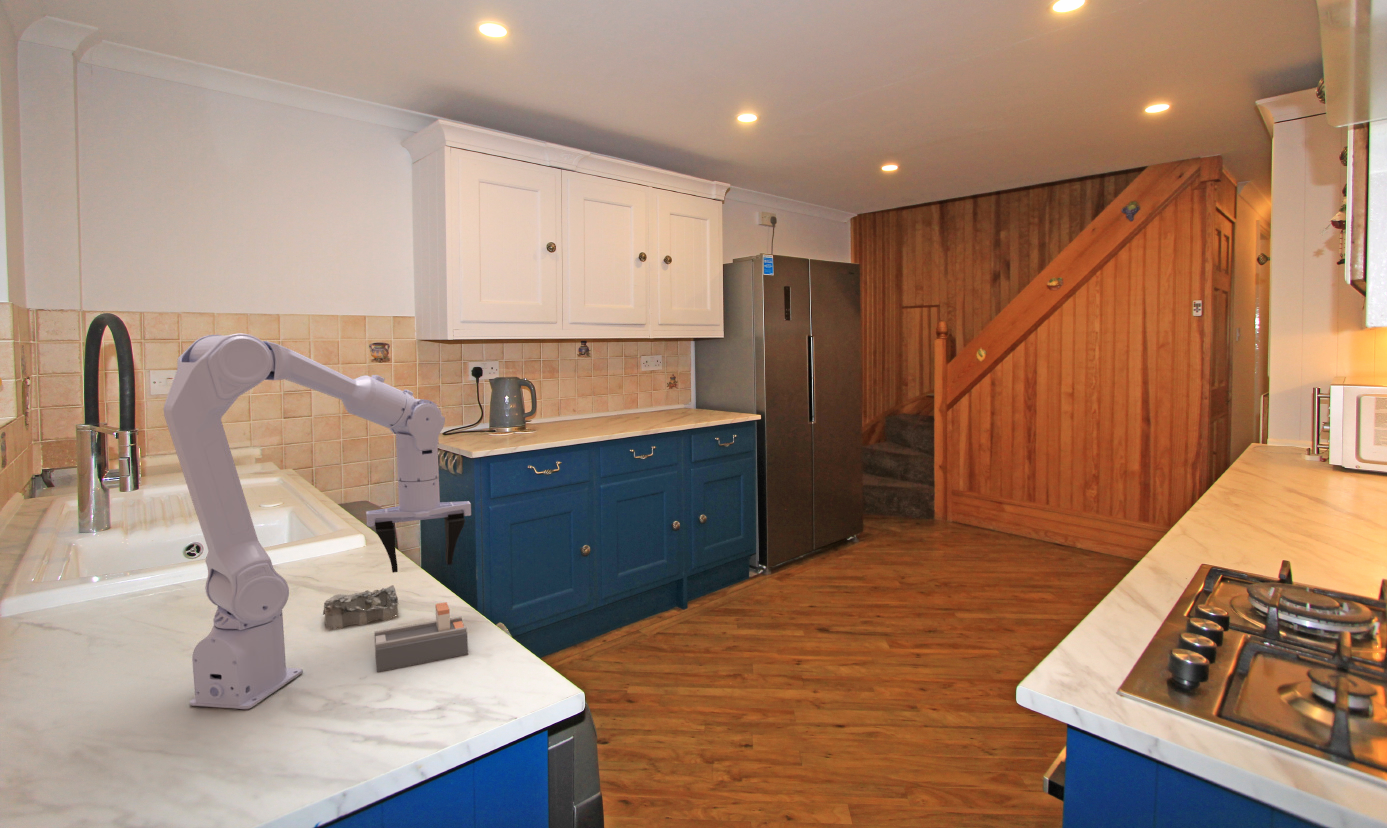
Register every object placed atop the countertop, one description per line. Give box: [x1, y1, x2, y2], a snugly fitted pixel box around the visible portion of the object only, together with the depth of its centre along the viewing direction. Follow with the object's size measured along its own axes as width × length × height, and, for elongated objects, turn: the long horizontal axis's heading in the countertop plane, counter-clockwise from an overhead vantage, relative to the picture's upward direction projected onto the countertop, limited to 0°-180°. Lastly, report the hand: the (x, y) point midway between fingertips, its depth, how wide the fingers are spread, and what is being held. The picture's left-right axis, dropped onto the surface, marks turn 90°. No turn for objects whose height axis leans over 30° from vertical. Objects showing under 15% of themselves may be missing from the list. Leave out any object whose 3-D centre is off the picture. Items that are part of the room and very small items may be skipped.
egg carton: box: [322, 584, 400, 630], centre depth 108 cm, size 11×8×4 cm
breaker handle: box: [435, 601, 451, 632], centre depth 95 cm, size 2×3×3 cm, turn 27°
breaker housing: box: [373, 616, 469, 673], centre depth 94 cm, size 12×6×4 cm, turn 117°
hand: (422, 566), depth 103 cm, fingers open, 7 cm apart
